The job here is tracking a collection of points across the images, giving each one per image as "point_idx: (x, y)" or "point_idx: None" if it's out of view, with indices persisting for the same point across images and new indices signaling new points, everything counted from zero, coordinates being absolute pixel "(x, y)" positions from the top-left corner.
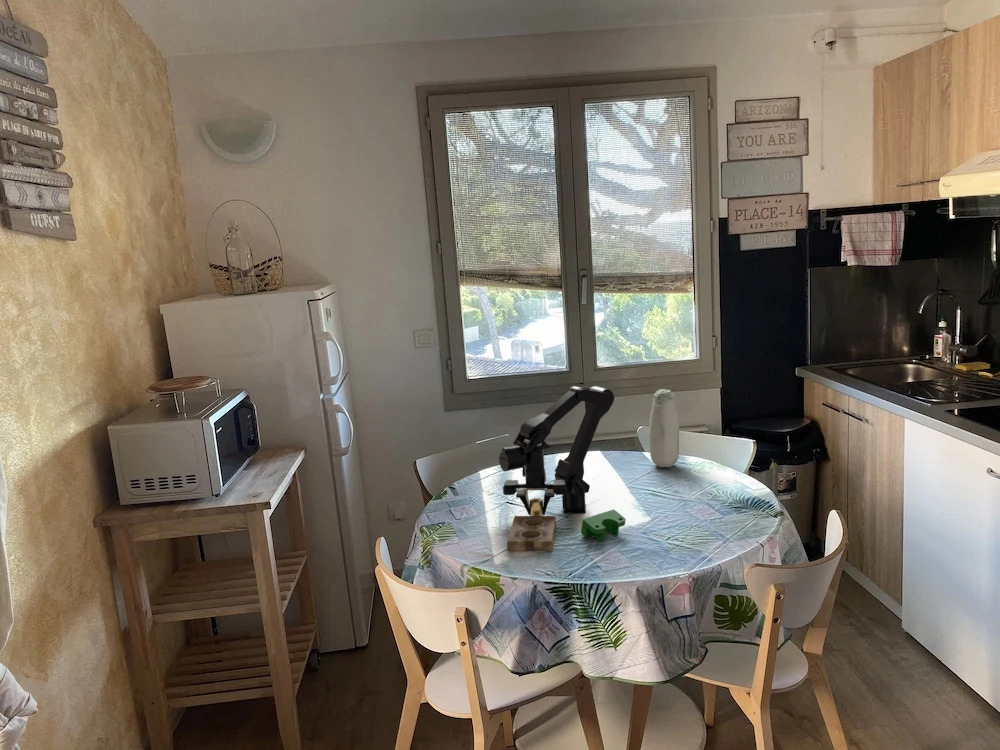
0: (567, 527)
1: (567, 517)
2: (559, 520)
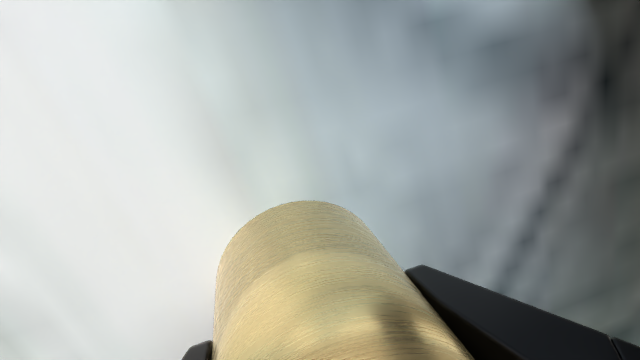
0: (609, 326)
1: (615, 113)
2: (541, 216)
